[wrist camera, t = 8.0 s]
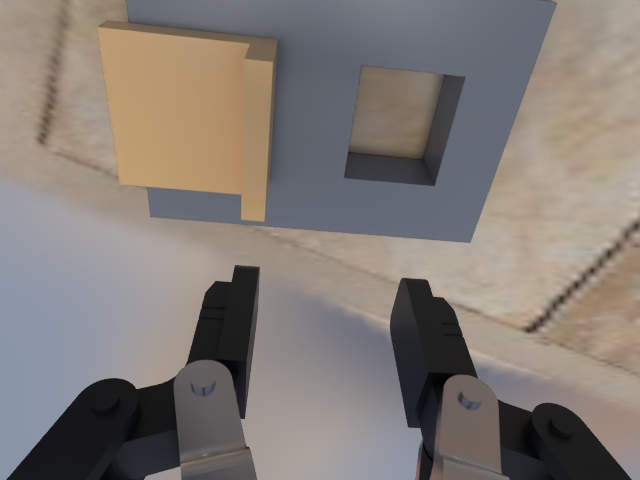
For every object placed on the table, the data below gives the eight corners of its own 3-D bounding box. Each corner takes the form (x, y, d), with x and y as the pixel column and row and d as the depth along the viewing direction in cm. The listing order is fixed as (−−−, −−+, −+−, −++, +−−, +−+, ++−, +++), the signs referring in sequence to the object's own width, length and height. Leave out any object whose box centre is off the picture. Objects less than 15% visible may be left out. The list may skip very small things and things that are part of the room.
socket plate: (143, -58, 24) (120, -52, 21) (529, -10, 25) (556, 3, 23) (164, 188, 32) (150, 217, 29) (456, 213, 33) (470, 242, 31)
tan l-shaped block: (107, 20, 22) (74, 40, 19) (278, 39, 23) (272, 62, 20) (128, 172, 27) (103, 208, 24) (269, 184, 28) (264, 221, 25)
